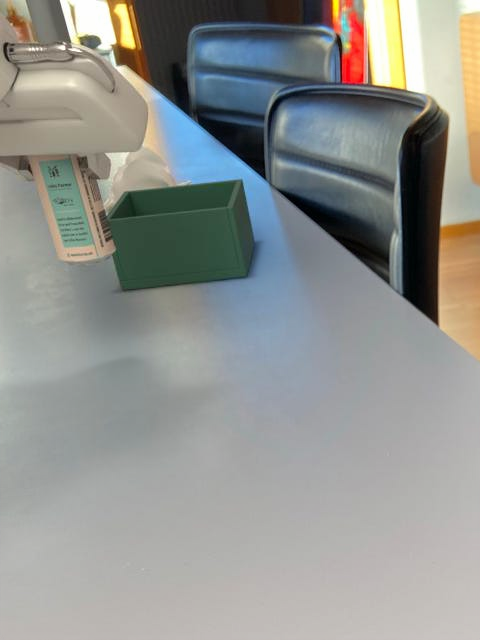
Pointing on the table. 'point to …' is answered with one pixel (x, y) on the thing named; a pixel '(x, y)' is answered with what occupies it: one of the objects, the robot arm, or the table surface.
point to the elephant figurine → (140, 175)
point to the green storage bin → (181, 234)
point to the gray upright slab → (48, 20)
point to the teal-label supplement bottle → (72, 209)
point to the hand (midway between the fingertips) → (68, 172)
